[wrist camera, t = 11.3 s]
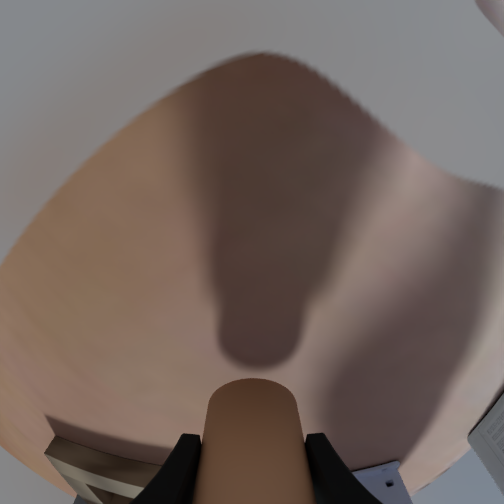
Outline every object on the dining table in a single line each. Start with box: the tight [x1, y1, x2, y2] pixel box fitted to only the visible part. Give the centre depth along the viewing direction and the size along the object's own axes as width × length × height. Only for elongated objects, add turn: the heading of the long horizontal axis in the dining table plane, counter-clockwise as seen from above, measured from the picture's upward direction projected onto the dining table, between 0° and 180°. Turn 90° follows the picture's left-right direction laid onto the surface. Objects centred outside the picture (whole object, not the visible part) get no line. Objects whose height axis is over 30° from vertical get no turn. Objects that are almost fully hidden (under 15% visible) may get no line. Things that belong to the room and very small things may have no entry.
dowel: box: [192, 378, 317, 504], centre depth 7 cm, size 4×4×8 cm
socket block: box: [44, 436, 162, 504], centre depth 15 cm, size 12×12×2 cm
